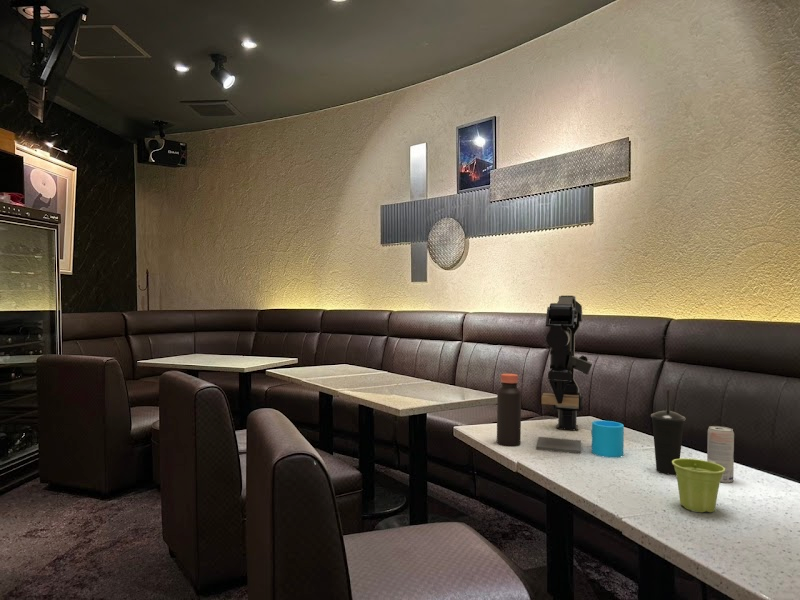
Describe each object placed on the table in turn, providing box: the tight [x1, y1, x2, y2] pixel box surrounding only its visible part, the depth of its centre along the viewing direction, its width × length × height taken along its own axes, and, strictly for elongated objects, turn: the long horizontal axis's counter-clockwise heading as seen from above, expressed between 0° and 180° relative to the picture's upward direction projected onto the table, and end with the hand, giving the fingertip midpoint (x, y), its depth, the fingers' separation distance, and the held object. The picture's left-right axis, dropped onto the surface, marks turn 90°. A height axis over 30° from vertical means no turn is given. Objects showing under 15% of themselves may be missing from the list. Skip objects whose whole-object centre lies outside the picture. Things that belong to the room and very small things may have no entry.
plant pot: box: [672, 458, 725, 513], centre depth 109 cm, size 9×9×9 cm
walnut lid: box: [541, 392, 579, 407], centre depth 155 cm, size 6×10×2 cm, turn 71°
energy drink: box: [706, 425, 735, 484], centre depth 127 cm, size 5×5×12 cm
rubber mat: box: [535, 436, 582, 455], centre depth 155 cm, size 12×12×1 cm
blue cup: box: [590, 420, 625, 458], centre depth 150 cm, size 12×8×8 cm
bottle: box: [496, 373, 522, 447], centre depth 157 cm, size 7×7×20 cm
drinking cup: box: [650, 389, 686, 476], centre depth 133 cm, size 8×8×20 cm
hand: (560, 401), depth 155 cm, fingers closed on walnut lid, 6 cm apart
